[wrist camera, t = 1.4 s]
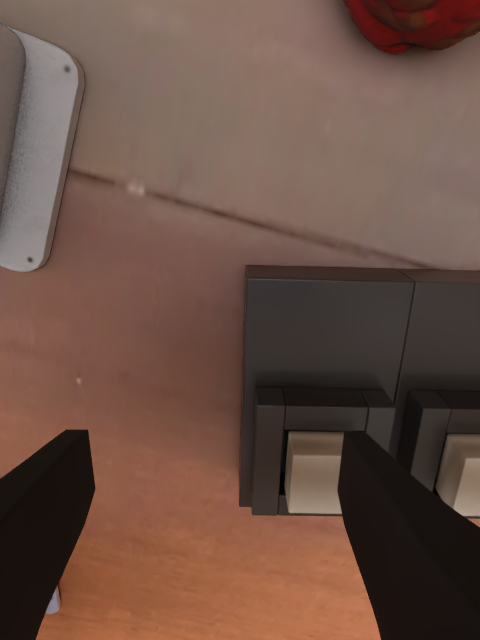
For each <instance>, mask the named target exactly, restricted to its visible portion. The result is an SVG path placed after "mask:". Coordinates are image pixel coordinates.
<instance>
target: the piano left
mask: <svg viewBox="0 0 480 640" xmlns="http://www.w3.org/2000/svg"><path fill="white" fill-rule="evenodd" d="M414 284H415V282H414V281H412V280H411V279H409V278H408V277H406V276H405V275H403V274H402V273H400V272H399V271H397V270H396V269H384V268H344V267H304V266H264V265H246V271H245V302H244V333H243V364H242V394H241V425H240V456H239V506H240V507H251V508H252V515H273V516H276V515H277V514H278V515H291V516H342V514H320V513H289V511H288V507H287V500H286V493H285V486H284V482H285V469H286V456H287V443H288V432H289V431H331V432H366V433H367V434H368V435H369V436H370V437H372V438H373V439H374V440H375V441H376V442H377V443H378V444H379V445H380V446H381V447H382V448H383V449H384V450H385V451H386V452H387V453H389V448H390V442H391V436H392V431H393V425H394V419H395V414H396V407H395V405H394V400H395V394H396V388H397V382H398V377H399V371H400V365H401V359H402V354H403V348H404V342H405V336H406V331H407V325H408V319H409V313H410V308H411V302H412V296H413V290H414Z"/></svg>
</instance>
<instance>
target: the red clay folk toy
mask: <svg viewBox="0 0 480 640" xmlns="http://www.w3.org/2000/svg"><path fill="white" fill-rule="evenodd" d="M344 2H345V5H346V6H347V8H348V9H349V12H350V15H351V17H352V20H353V21H354V23H355V24H356V25H357V27H358V28H359V30H360V31H361V33H362V34H363V36H364V37H365V38H366V39H368V40H369V41H370V42H371V43H372V44H373V45H374V46H375V47H376V48H378V49H379V50H383V51H385V52H388V53H390V54H395V55H396V54H399V53H402V52H405V51H406V50H408V49H409V48H411V47H413V46H419V47H423V48H427V49H430V50H442V49H445V48H448V47H450V46H452V45H454V44H456V43H458V42H460V41H462V40H463V39H465V38H467V37H470V36H473V35H475V34H477V33H478V32H480V0H344Z"/></svg>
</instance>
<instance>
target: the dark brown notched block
mask: <svg viewBox="0 0 480 640" xmlns="http://www.w3.org/2000/svg"><path fill="white" fill-rule="evenodd" d="M396 270H397V271H399V272H400V273H402V274H403V275H405V276H406V277H408V278H409V279H411V280H412V281H414V282H415V284H414V290H413V296H412V302H411V308H410V313H409V319H408V325H407V331H406V336H405V342H404V348H403V354H402V359H401V365H400V371H399V377H398V382H397V388H396V394H395V400H394V405H395V407H396V414H395V419H394V425H393V431H392V436H391V442H390V448H389V453H388V454H389V455H391V456H392V457H393V458H394V459H395V460H396V461H397V462H398V463H399V464H400V465H401V466H402V467H403V468H405V469H406V470H407V471H408V472H409V473H410V474H411V475H412V476H414V477H415V478H416V479H417V480H418V481H419V482H420V483H422V484H423V485H424V486H425V487H426V488H428V489H429V490H430V491H431V492H432V493H434V494H435V495H436V496H437V497H439V498H440V499H441V500H442V498H441V497H440V495H439V494H438V492H437V490H436V489H435V484H436V479H437V475H438V471H439V466H440V462H441V457H442V453H443V449H444V444H445V440H446V436H447V434H448V433H452V434H480V271H463V270H423V269H396ZM442 501H443V500H442ZM464 517H465V518H467V519H480V516H464Z"/></svg>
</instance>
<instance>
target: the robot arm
mask: <svg viewBox="0 0 480 640" xmlns="http://www.w3.org/2000/svg"><path fill="white" fill-rule="evenodd" d="M94 492H95V482H94V474H93V466H92V458H91V450H90V442H89V434H88V430H65V431H64V432H62V433H61V434H59V435H58V436H57V437H55V438H54V439H53V440H51V441H50V442H49V443H47V444H46V445H45V446H43V447H42V448H41V449H40V450H38V451H37V452H36V453H34V454H33V455H32V456H30V457H29V458H28V459H26V460H25V461H24V462H22V463H21V464H20V465H19V466H17V467H16V468H15V469H13V470H12V471H11V472H9V473H8V474H6V475H5V476H4V477H2V478H1V479H0V640H36V637H37V634H38V631H39V628H40V625H41V622H42V620H43V618H44V615H45V614H54V613H56V612H58V610H59V608H60V605H61V603H60V597H59V591H58V583H59V581H60V578H61V576H62V574H63V572H64V570H65V567H66V565H67V563H68V561H69V558H70V556H71V554H72V552H73V550H74V547H75V545H76V543H77V540H78V538H79V536H80V534H81V531H82V529H83V527H84V524H85V521H86V518H87V515H88V512H89V509H90V506H91V502H92V499H93V495H94ZM337 492H338V497H339V502H340V507H341V512H342V516H343V521H344V525H345V528H346V531H347V534H348V537H349V540H350V543H351V546H352V549H353V552H354V555H355V558H356V561H357V564H358V567H359V570H360V573H361V576H362V578H363V581H364V584H365V587H366V590H367V593H368V596H369V599H370V602H371V605H372V608H373V611H374V615H375V618H376V621H377V625H378V628H379V632H380V637H381V640H480V527H478V526H477V525H475V524H474V523H472V522H471V521H469V520H468V519H467V518H465V517H464V516H462V515H461V514H459V513H458V512H457V511H455V510H454V509H453V508H451V507H450V506H449V505H447V504H446V503H445V502H444V501H442V500H441V499H440V498H439V497H437V496H436V495H435V494H434V493H432V492H431V491H430V490H429V489H428V488H426V487H425V486H424V485H423V484H422V483H420V482H419V481H418V480H417V479H416V478H415V477H414V476H412V475H411V474H410V473H409V472H408V471H407V470H406V469H405V468H403V467H402V466H401V465H400V464H399V463H398V462H397V461H396V460H395V459H394V458H393V457H392V456H391V455H389V454H388V453H387V452H386V451H385V450H384V449H383V448H382V447H381V446H380V445H379V444H378V443H377V442H376V441H375V440H374V439H373V438H372V437H370V436H369V435H368V434H367V433H366V432H344V436H343V445H342V453H341V462H340V471H339V479H338V488H337Z"/></svg>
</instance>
